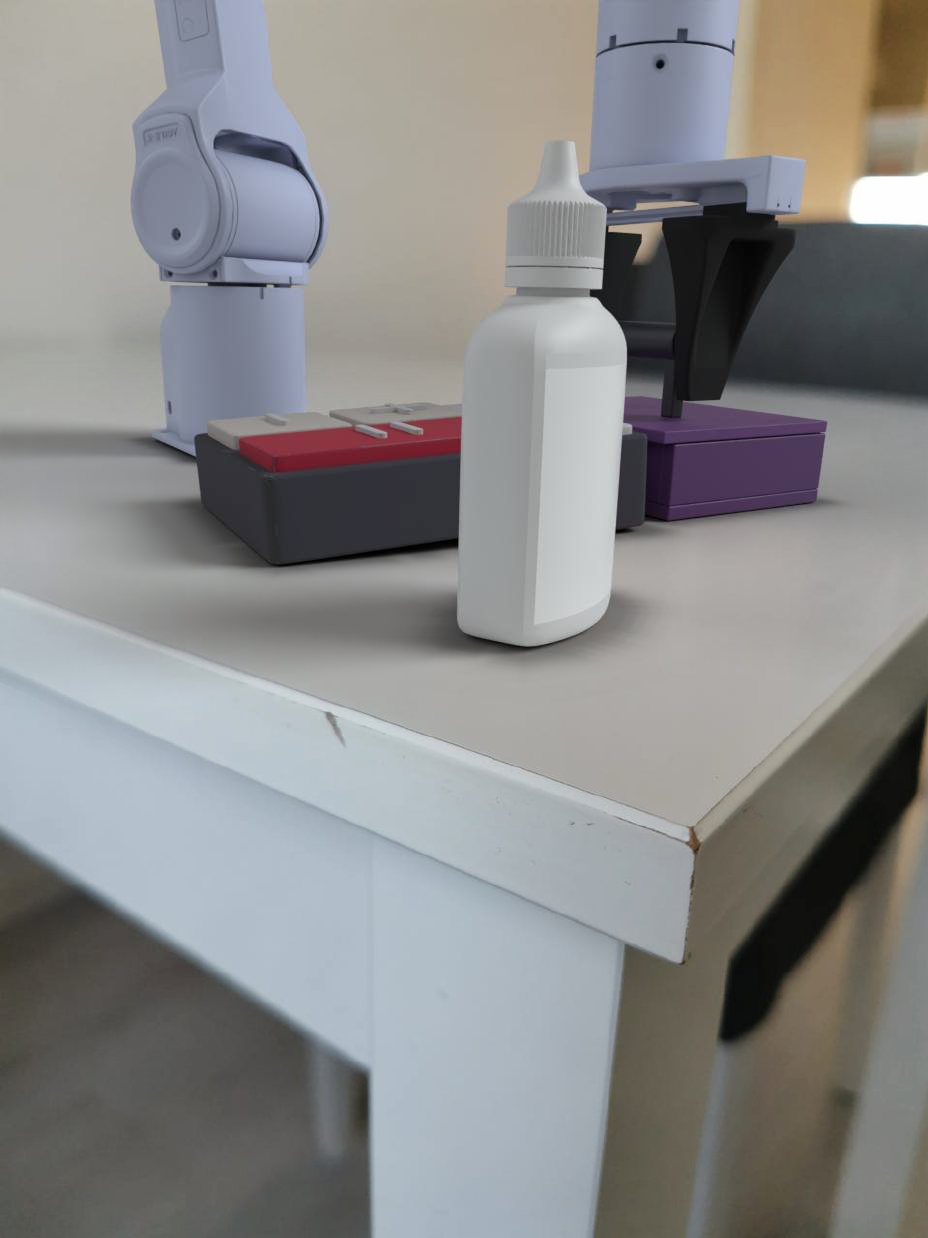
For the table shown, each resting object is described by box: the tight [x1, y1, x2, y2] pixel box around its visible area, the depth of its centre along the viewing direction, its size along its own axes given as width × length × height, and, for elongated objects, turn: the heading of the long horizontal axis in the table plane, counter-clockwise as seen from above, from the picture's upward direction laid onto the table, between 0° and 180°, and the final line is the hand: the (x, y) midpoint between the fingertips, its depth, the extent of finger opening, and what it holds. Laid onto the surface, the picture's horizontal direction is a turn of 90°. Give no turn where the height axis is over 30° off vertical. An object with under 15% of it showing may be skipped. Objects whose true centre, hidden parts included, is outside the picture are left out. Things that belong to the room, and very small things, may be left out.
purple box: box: [645, 432, 826, 521], centre depth 46 cm, size 9×12×3 cm
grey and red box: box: [194, 401, 647, 565], centre depth 39 cm, size 11×4×15 cm
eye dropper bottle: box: [456, 139, 628, 647], centre depth 25 cm, size 4×6×12 cm
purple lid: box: [616, 320, 828, 444], centre depth 45 cm, size 10×12×4 cm
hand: (638, 392), depth 45 cm, fingers open, 7 cm apart
